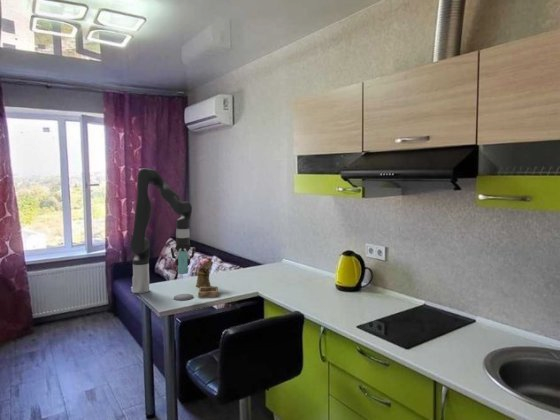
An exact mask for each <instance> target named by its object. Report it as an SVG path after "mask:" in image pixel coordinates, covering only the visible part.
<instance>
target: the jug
mask: <svg viewBox="0 0 560 420" xmlns="http://www.w3.org/2000/svg"><path fill="white" fill-rule="evenodd" d="M187 252H189V251H179V256H178V266H177V274H179V275H186V274H188V273H189V265H188V257H187Z"/></svg>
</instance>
